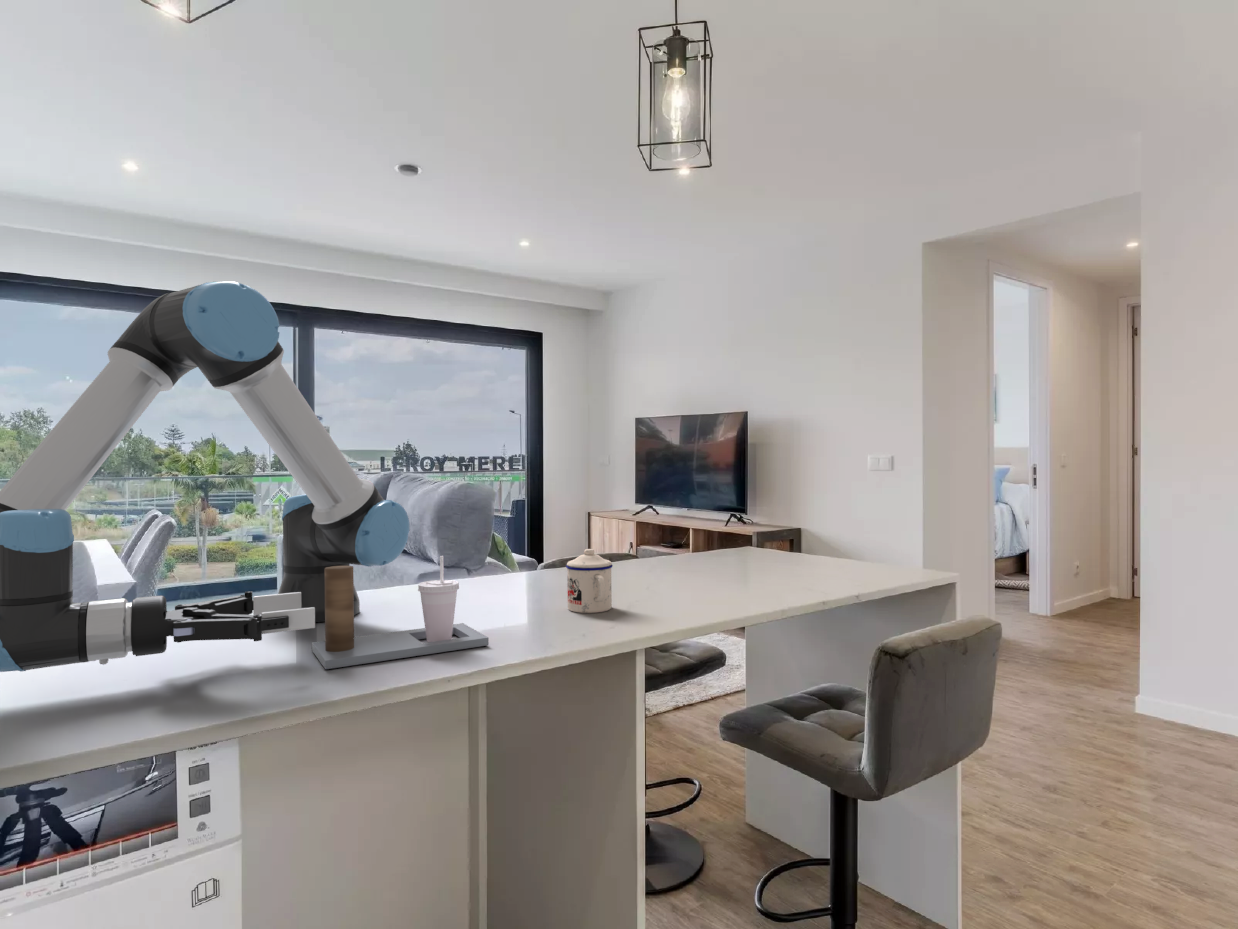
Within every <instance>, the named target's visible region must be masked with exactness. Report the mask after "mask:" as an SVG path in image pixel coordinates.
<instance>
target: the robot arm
mask: <svg viewBox="0 0 1238 929" xmlns="http://www.w3.org/2000/svg"><path fill="white" fill-rule="evenodd" d="M279 328H280V321H279V317H278V315H277V313H276V311H275V309H274V307H273V305H272V304H271V302H269V300H268V299H267V298H266V297H265V296H264V295H263V294H262V293H261V292H259V291H258V290H256V289H255V288H253V287H251V286H249V285H247V284H244V283H241V282H236V281H228V280H227V281H225V280H224V281H210V282H209V281H208V282H204V283H202V284H198V285H194V286H191V287H186V288H184V289H180V290H176V291H172V292H167V293H164V294H162V295H161V296H158V297H157V298H155V299H154V300H152V301H151V302H150V303H149V304H148V305H147V306H146V307H144V308H143V310H141V312H140V313H139V314H138V315H136V317H135V318H134V319H133V321H132V322H131V323H129V325H128V326H127V328H126V329H125V330H124V332H123V333H122V334H121V335H120V336H119V337H118V339H117V340H116V341H115V342H114V343H113V344H112V346H111V347H110V348H109V349H108V350H107V356H108V361H109V362H108V363H107V364H106V365H105V366H104V368H103V369H102V370H101V371H100V372H99V374H98V375H97V376H96V377H95V378H94V379H93V380H92V382H90V384H89V385H88V386H87V387H86V389H85V390H84V391H83V392H82V393H81V395H79V397H78V398H77V400H76V401H75V402H74V403H73V404H72V405H71V407H69V409H68V410H67V412H66V413H65V414H64V415H63V416H62V417H61V418H60V420H59V421H58V422H57V423H56V424H55V426H54V427H53V428H52V429H51V430H50V431H49V433H48V434H47V435H46V436H45V437H44V438H43V439H42V441H41V442H40V443H39V444H38V446H36V447H35V449H34V450H33V451H32V452H31V454H30V455H29V456H28V457H27V459H26V460H25V461H24V462H23V463H22V464H21V466H20V467H19V468H18V469H17V470H16V472H14V474H13V475H12V477H10V479H9V480H7V482H6V483H5V484H4V486H3V487H1V489H0V673H3V672H16V671H17V672H18V671H19V672H26V671H29V670H37V669H45V668H51V667H58V666H59V667H60V666H67V665H71V664H74V665H75V664H80V663H81V664H82V663H90V662H95V661H98V663H99V664H100V665H103V666H104V665H107V664H108V663H109V660H113V659H114V660H115V659H122V658H126V657H127V656H128V653H130V652H132V655H133V656H135V657H140V656H142V657H143V656H149V655H150V656H151V655H158V654H163V653H165V652H166V650H167V647H168V645H167V644H168V637H173V643H178V644H179V643H182V642H183V643H184V642H190V641H191V642H193V641H226V640H253V642H259V641H262V640H263V635H266V634H275V633H282V632H290V631H292V632H293V631H298V630H299V631H300V630H308V629H315V628H316V623H321V622H322V623H323V622H325V568H326V567H332V566H351V565H357V566H363V567H374V566H377V567H379V566H380V567H381V566H386V565H389V564H391V563H392V562H393V561H395V560H396V559H397V558H398V557H399V556H400V555H401V554H402V553H403V551H404V550H405V548H406V545H407V543H408V542H409V541H408V540H409V532H410V530H411V529H410V527H411V526H410V518H409V516H408V513H407V510H406V509H405V508H404V507H403V506H402V505H401V504H400V503H399V502H396V501H394V500H392V499H384V497H382V495H381V493H380V492H379V490H378V489H377V487H376V486H375V484H374V483H373V482H372V481H371V480H370V479H365V478H359V477H358V475H357V474H356V472H355V470H354V469H353V468H352V466H351V465H350V463H349V462H348V460H347V459H346V458H345V456H344V454H343V453H342V452H341V450H340V449H339V447H338V446H337V444H336V443H335V441H334V440H333V438H332V437H331V435H330V434H329V432H328V430H326V427H324V425H323V423H322V422H321V421H320V420H319V418H318V416H317V414H316V413H315V411H313V409H312V407H311V406H310V405H309V403H308V401H307V399H305V397H304V395H303V394H302V392H301V391H300V390H299V388H298V387H297V385H296V384H295V382H294V381H293V379H292V378H291V377H290V375H289V373H288V372H287V370H286V369H285V368H284V366H283V365H282V360H283V357H284V353H285V350H284V348H283V346H282V345H281V344H280V342H279V338H280V332H279ZM197 368H198V369H199V370H200V372H201V373H202V375H204V377H205V378H206V380H207V381H208V382H209V383H210V385H211V386H212V387H213V388H214V389H215V390H216V389H217V390H221V391H224V392H225V391H226V392H229V393H230V394H231V396H232V397H233V398H234V399H235V401H236V402H237V403H238V405H239V406H240V408H241V409H242V411H243V412H244V413H245V414H246V415H247V417H248V418H249V419H250V421H251V423H252V424H253V425H254V426H255V428H256V429H257V430H258V433H260V434H261V436H262V437H263V439H264V440H265V442H266V443H268V446H269V447H270V448H271V449H272V451H273V452H274V454H275V455H276V456H277V457H278V459H279V460H280V462H281V463H282V465H283V466H284V467H285V468H286V469H287V471H288V472H289V473H290V475H291V476H292V478H293V479H294V481H296V483H297V484H298V486H299V487H300V488H301V490H302V491H303V493H304V494H300V495H299V494H298V495H293V496H290V497H288V498H286V499H285V501H284V502H283V507H282V515H281V520H282V547H283V548H282V551H283V552H282V554H283V556H282V559H283V576H282V581H281V583H280V587H279V590H278V592H277V593H275V594H274V593H273V594H266V595H265V594H263V595H256V596H255V595H254V596H253V591H245V592H244V594H240V595H236V596H235V595H234V596H230V597H229V596H228V597H224V598H218V599H211V600H205V601H199V602H194V603H186V604H185V603H183V604H181V603H178V604H177V605H174V610H169V611H168V610H167V609H168V608H167V598H166V597H165V596H164V595H151V596H140V597H139V596H138V597H135V598H133V599H132V601H130V602H129V601H128V599H126V598H124V597H122V598H113V599H112V598H111V599H103V600H102V599H101V600H92V601H91V600H90V601H83V602H74V601H73V598H74V589H73V588H74V586H73V585H74V584H73V581H74V578H73V577H74V576H73V574H74V572H73V571H74V570H73V568H74V566H73V565H74V564H73V560H74V556H73V554H74V552H73V551H74V549H73V548H74V547H73V546H74V544H73V543H74V541H75V535H74V533H73V532H74V531H73V525H72V524H73V523H72V515H71V514H70V512H68V511H67V510H68V508H69V507H70V505H71V504H72V503H73V502H74V500H76V498H77V497H78V496H79V494H80V493H81V491H82V490H83V489H84V488H86V485H87V484H88V483H89V482H90V481H91V479H92V478H93V476H94V475H95V474H96V473H97V471H98V470H99V469H100V468H101V466H102V465H103V464H104V463H105V461H106V460H107V459H108V457H110V455H111V454H112V453H113V452H114V450H115V448H116V447H117V446H118V445H119V444H120V442H121V441H122V440H123V438H125V436H126V435H127V434H128V432H129V431H130V429H131V428H133V426H134V425H135V423H136V422H138V420H139V418H140V417H141V416H142V415H143V413H144V412H145V411H146V409H147V408H148V407H149V406H150V405H151V403H152V402H153V400H154V399H156V397H157V395H158V394H159V393H160V392H167V391H170V390H172V389H173V387H174V386H175V385H176V384H177V382H178V381H179V380H180V379H181V378H182V377H183V376H185V375H186V374H187V373H190V371H193V370H195V369H197ZM360 605H361V604H360V597H359V596H358V592H357V590H356V586H355V585H354V616H356V615H358V614H359V613H360V611H361V610H360V608H361V607H360Z"/></svg>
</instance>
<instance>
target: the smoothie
mask: <svg viewBox="0 0 1238 929" xmlns="http://www.w3.org/2000/svg"><path fill="white" fill-rule="evenodd" d="M444 559H445V558H444V555H440V556H439V579H438V580H435V579H434V580H427V581H422V582H419V583H418V584H417V586H418V589H417V591H418V592H419V594H420V599H421V600H420V602H421V608H422V614H423V622H424V628H425V631H426V638H425V639H426V643H427V642H435V641H442V640H449V639H453V635H452V631H453V624H454V622H455V621H454V620H455V614H456V613H455V612H456V604H457V596H458V595H457V594H458V590H459V589H460V586H459V585H460V584H459V581H457V580H454V579H453V580H452V579H444V574H445V573H444V570H445V568H444V567H445V566H444V565H445V564H444V563H445V562H444Z"/></svg>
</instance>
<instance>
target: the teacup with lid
mask: <svg viewBox="0 0 1238 929" xmlns="http://www.w3.org/2000/svg"><path fill="white" fill-rule="evenodd" d="M583 553H584V554H581V555H579V556H577V557H576V558H574V559H572V560H568V561H567V563H566V565H565V567H566V569H567V571H566V572H567V584H566V585H567V609H568V611H570V612H574V613H580V614H595V613H596V614H597V613H602V612H607V611H610V610H611V609H612V605H613V604H612V601H613V600H612V592H613V591H612V568H613V563H612V561H611V560H608V559H606V558H603V557H602V556H600V555H598V554H596V553H595V549H593V548H586V549H584V551H583Z"/></svg>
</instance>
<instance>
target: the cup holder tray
mask: <svg viewBox="0 0 1238 929" xmlns="http://www.w3.org/2000/svg"><path fill="white" fill-rule="evenodd" d="M354 582H355V580H354V566H352V565H350V566H332V567H326V568H325V621H324V638H325V639H324V640H322V641H314V642H311V651H312V652H313V654H314V655H315V656H316V658H317V660H318V661H319V663H320V664H321V665H322V667H323V668H324V669H325V670H329V669H337V668H342V667H343V668H345V667H350V666H358V665H362V664H363V665H364V664H371V663H377V662H383V661H390V660H391V661H393V660H396V659H397V660H398V659H403V658H410V657H411V658H412V657H416V656H417V657H419V656H423V655H432V654H437V653H439V654H440V653H444V652H451V651H457V650H459V651H460V650H465V649H471V648H479V647H484V646H489V644H490V642H489V637H488V636H486V635H485V634H483V633H481V632H479V631H477V630H476V629H474V628H473V627H470V626H469V625H467V624H465V623H463V622H461V623H460V622H459V623H453V631H452V636H453V635H455V636H457V638H452V639H449V640H442V641H435V642H427V641H426V642H423V643H422V641H420V640H423V639H424V640H426V639H427V638H426V631H425V627H423V628H414V629H407V630H405V629H404V630H398V631H392V632H383V633H376V634H374V633H373V634H366V635H359V636H355V615H354V586H355V584H354Z"/></svg>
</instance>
